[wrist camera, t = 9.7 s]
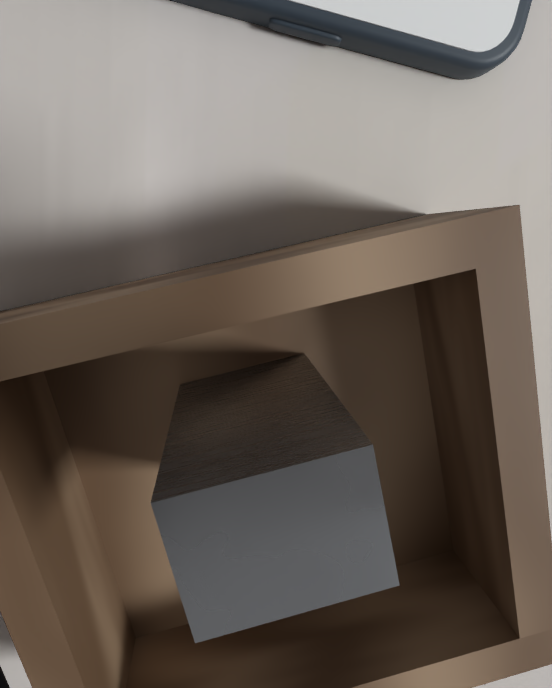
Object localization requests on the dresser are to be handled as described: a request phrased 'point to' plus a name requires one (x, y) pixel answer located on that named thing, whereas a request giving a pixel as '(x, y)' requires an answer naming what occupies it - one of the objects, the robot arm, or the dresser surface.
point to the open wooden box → (363, 405)
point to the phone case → (396, 28)
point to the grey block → (269, 499)
